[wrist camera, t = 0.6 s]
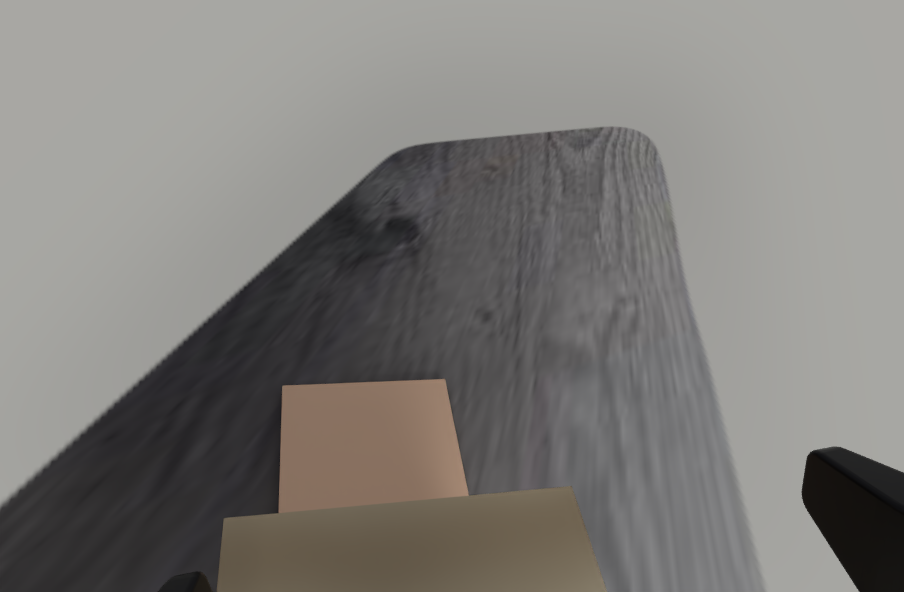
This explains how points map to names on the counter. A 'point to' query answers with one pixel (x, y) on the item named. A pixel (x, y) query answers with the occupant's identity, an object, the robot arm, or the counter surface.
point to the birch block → (416, 547)
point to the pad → (367, 445)
